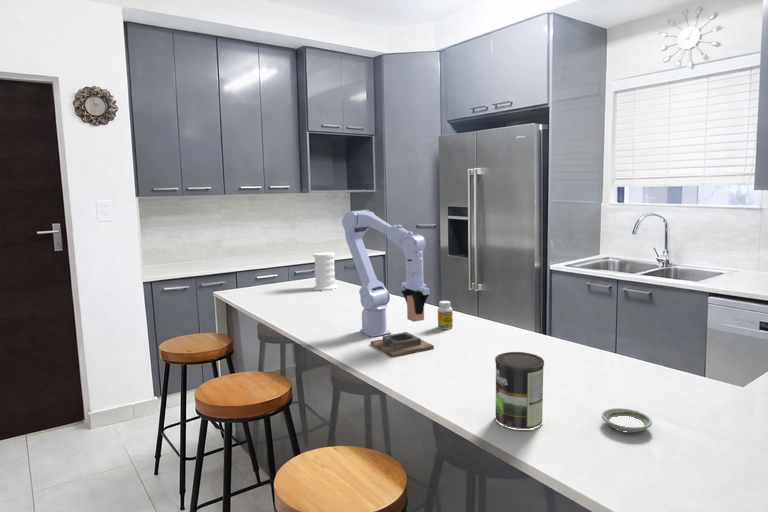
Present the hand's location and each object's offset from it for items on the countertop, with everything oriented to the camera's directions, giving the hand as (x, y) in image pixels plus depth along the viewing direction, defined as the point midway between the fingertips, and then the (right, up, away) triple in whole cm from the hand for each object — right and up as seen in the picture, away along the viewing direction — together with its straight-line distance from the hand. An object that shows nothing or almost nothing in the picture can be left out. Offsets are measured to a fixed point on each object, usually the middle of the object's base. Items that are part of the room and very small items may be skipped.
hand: (415, 312), depth 172 cm
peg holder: (-5, -11, -4) cm, 12 cm away
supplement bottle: (+12, -8, +16) cm, 21 cm away
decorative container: (-40, +2, +92) cm, 101 cm away
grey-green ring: (+41, -18, -62) cm, 76 cm away
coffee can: (+19, -18, -57) cm, 63 cm away
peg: (0, -2, 0) cm, 2 cm away
